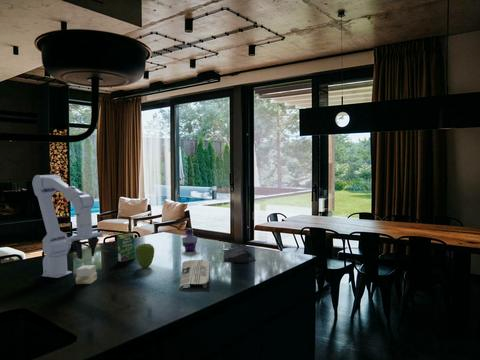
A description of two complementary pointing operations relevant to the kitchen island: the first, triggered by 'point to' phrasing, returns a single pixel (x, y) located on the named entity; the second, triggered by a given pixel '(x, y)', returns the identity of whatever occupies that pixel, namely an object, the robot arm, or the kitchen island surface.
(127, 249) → the coffee box
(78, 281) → the tower base block
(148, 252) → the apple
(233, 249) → the dark slate chunk
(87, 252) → the sage cylinder
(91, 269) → the tower top block
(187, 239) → the potion bottle
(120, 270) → the kitchen island surface
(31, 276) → the kitchen island surface
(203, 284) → the newspaper
